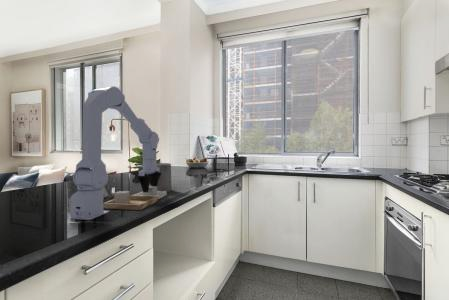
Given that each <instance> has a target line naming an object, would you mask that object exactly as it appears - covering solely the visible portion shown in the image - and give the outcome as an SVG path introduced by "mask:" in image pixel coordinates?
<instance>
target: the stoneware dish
mask: <svg viewBox="0 0 449 300" xmlns="http://www.w3.org/2000/svg"><path fill="white" fill-rule="evenodd" d="M131 195H132V196H148V195H143V190H142V191H140V192H138V193H135V194H131ZM167 195H168V192H167V191H157V195H155V196H158V200H160V199H162V198H164V197H165V196H167Z"/></svg>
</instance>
